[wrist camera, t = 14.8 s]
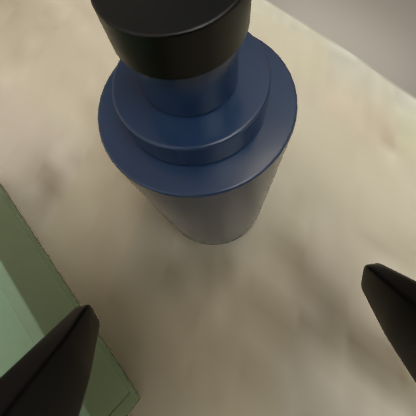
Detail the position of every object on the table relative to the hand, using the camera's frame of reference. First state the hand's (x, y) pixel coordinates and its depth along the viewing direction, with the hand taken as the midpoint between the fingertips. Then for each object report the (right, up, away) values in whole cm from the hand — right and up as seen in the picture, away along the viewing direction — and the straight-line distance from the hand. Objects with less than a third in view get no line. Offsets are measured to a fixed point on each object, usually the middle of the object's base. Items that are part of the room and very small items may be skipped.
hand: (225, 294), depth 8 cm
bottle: (0, +3, +9) cm, 9 cm away
